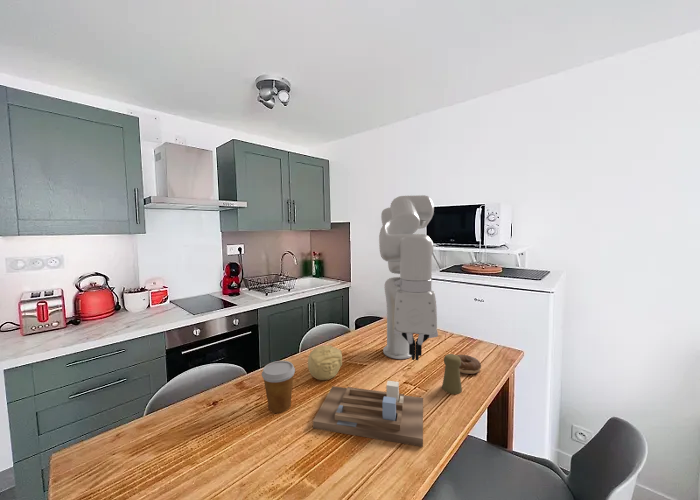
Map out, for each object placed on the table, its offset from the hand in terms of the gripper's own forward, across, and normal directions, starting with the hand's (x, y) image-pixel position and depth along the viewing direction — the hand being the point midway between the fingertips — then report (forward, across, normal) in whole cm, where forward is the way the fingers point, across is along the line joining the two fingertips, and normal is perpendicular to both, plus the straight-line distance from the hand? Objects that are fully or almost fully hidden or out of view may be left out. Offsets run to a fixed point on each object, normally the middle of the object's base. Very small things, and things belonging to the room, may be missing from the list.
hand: (415, 357), depth 73 cm
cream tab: (+17, -7, +8) cm, 20 cm away
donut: (+20, +16, +38) cm, 46 cm away
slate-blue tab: (+17, -7, 0) cm, 19 cm away
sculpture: (+20, -32, +21) cm, 43 cm away
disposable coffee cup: (+20, -39, +1) cm, 44 cm away
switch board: (+20, -12, +4) cm, 23 cm away
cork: (+20, +11, +23) cm, 32 cm away
